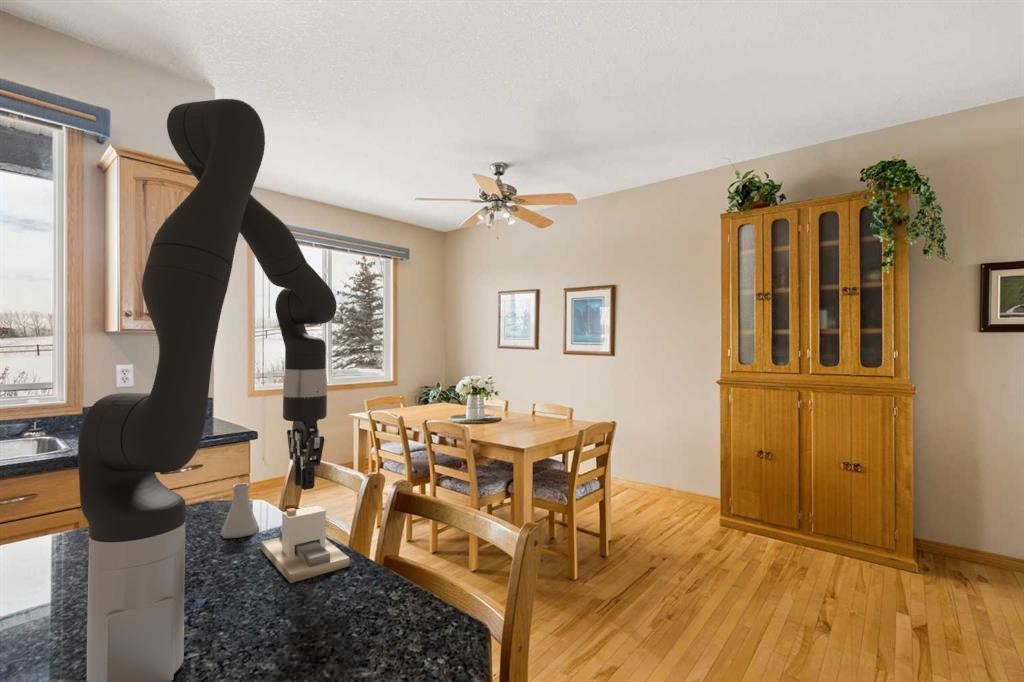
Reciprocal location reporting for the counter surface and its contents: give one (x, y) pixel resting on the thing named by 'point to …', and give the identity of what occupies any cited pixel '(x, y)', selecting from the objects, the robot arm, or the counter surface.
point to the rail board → (297, 565)
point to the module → (302, 527)
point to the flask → (240, 515)
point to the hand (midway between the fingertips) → (304, 486)
